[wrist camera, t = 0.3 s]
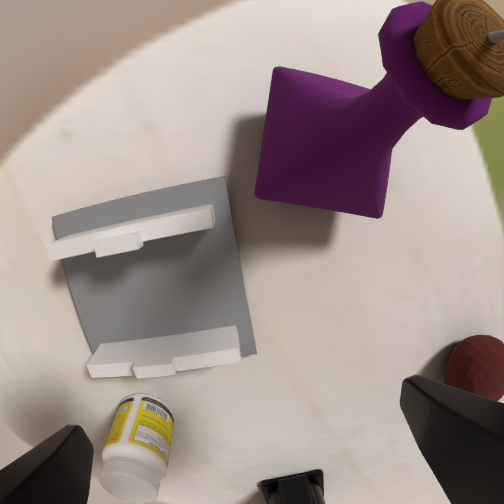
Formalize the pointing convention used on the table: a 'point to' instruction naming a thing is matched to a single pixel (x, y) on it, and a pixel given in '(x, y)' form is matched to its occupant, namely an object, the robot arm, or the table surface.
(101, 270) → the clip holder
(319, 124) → the purple potion bottle
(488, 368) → the potato
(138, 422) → the supplement bottle
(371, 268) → the table surface
